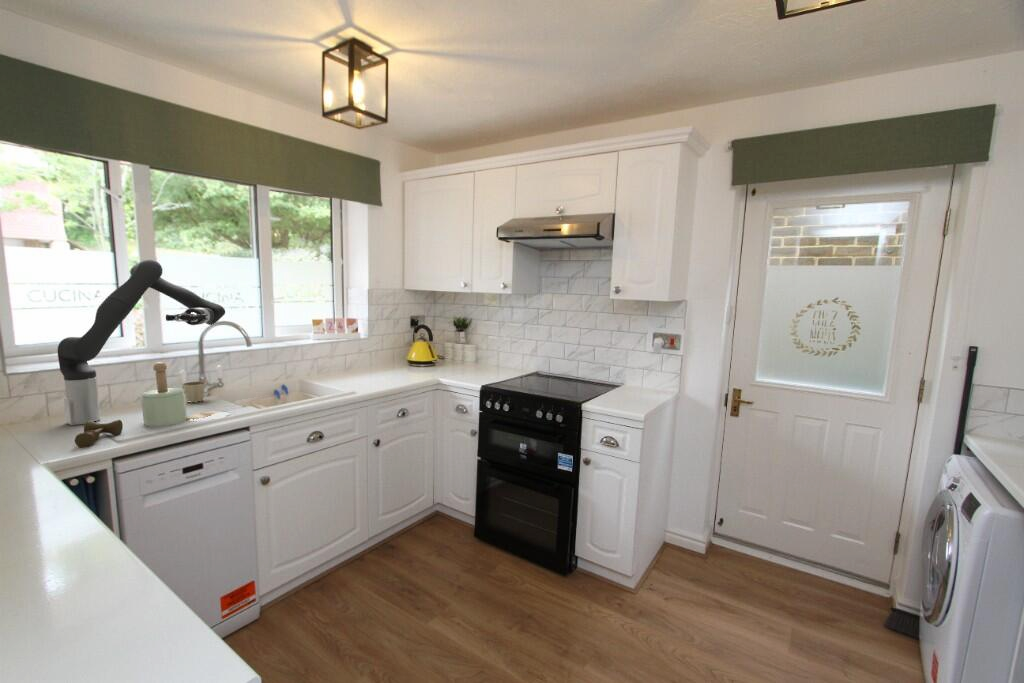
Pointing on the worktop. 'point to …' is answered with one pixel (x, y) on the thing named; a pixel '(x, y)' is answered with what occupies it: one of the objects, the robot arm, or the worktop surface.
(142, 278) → the robot arm
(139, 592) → the worktop surface
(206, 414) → the cork mat
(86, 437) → the kendama
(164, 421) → the green knobbed canister
